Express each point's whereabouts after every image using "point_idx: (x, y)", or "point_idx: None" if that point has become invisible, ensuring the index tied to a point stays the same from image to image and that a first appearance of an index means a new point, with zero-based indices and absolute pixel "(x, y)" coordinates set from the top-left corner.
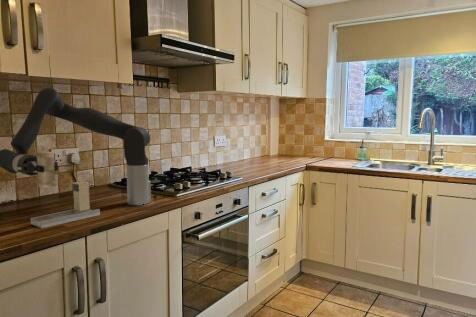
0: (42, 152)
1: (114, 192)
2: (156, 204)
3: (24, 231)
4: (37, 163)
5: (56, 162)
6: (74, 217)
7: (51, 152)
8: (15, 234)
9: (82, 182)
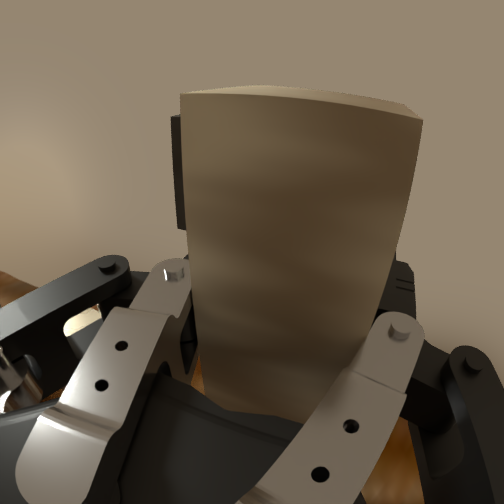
0: (353, 99)
1: None
2: (7, 290)
3: (379, 491)
4: (373, 315)
5: (104, 259)
6: None
7: (287, 87)
8: (415, 485)
9: (76, 317)
